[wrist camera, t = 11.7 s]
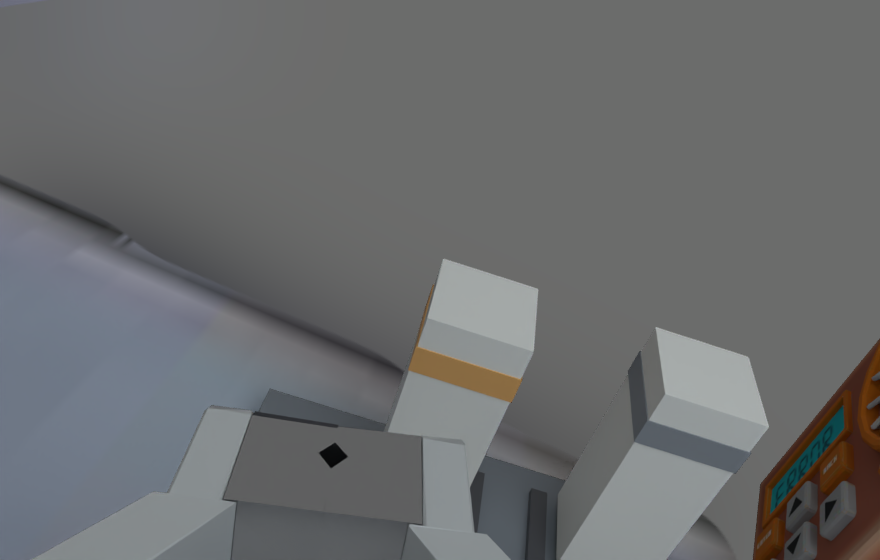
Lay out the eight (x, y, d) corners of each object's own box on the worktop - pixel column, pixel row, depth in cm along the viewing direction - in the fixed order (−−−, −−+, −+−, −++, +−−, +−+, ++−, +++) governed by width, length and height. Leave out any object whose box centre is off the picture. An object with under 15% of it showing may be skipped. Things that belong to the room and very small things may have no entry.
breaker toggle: (360, 505, 33) (425, 318, 27) (380, 438, 37) (442, 257, 30) (449, 533, 34) (535, 353, 27) (461, 463, 37) (539, 288, 31)
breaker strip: (136, 678, 27) (157, 442, 20) (265, 408, 39) (309, 194, 31) (668, 835, 28) (879, 664, 21) (641, 525, 40) (770, 343, 32)
